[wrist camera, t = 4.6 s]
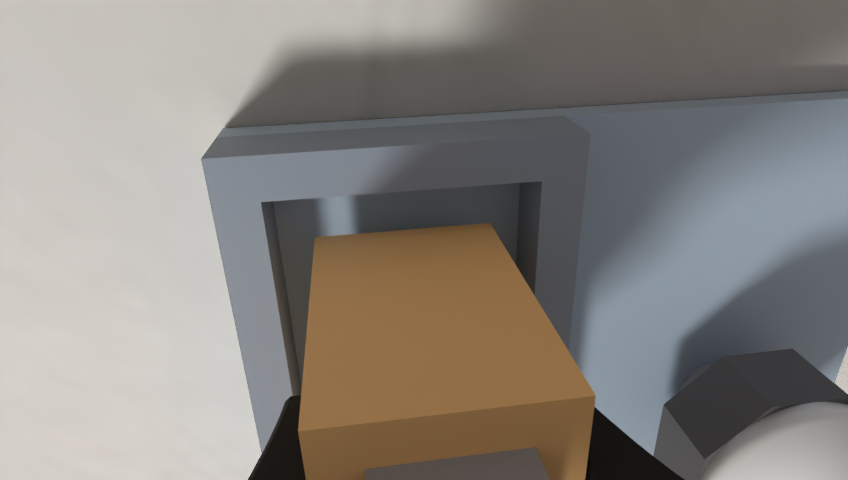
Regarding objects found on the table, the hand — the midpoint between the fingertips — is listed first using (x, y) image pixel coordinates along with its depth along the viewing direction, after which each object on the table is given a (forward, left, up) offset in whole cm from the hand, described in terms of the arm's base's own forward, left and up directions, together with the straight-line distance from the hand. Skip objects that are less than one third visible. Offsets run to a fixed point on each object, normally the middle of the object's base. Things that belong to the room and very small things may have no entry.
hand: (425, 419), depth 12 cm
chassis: (-5, +1, -5) cm, 7 cm away
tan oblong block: (0, 0, -3) cm, 3 cm away
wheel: (-10, +4, -3) cm, 11 cm away
